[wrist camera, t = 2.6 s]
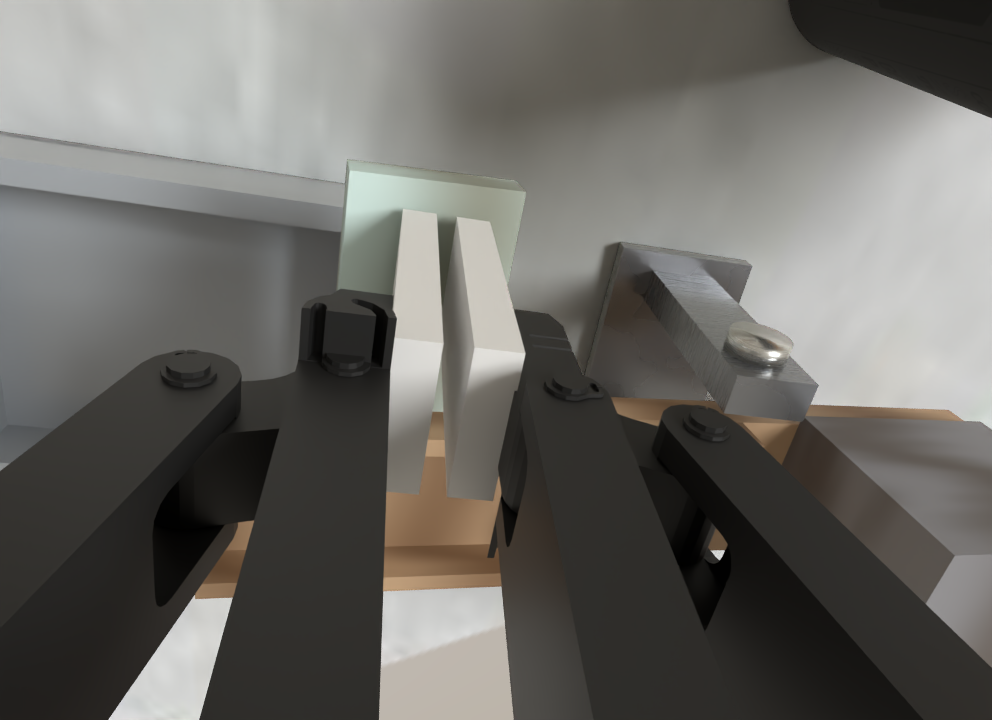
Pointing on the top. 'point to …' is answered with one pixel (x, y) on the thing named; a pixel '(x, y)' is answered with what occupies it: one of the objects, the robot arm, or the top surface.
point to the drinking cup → (910, 42)
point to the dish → (146, 271)
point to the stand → (692, 337)
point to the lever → (795, 445)
